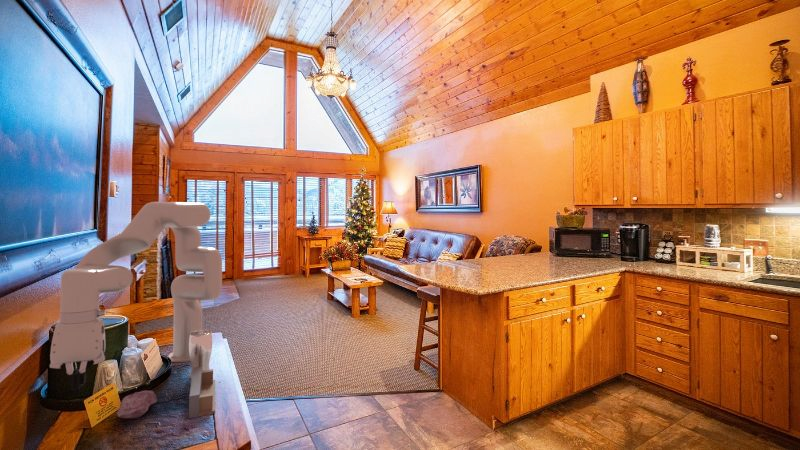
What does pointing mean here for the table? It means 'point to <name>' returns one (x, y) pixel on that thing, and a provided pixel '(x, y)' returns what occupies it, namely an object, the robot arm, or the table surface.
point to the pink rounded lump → (136, 404)
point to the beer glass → (200, 349)
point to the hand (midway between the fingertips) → (77, 387)
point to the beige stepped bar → (202, 393)
